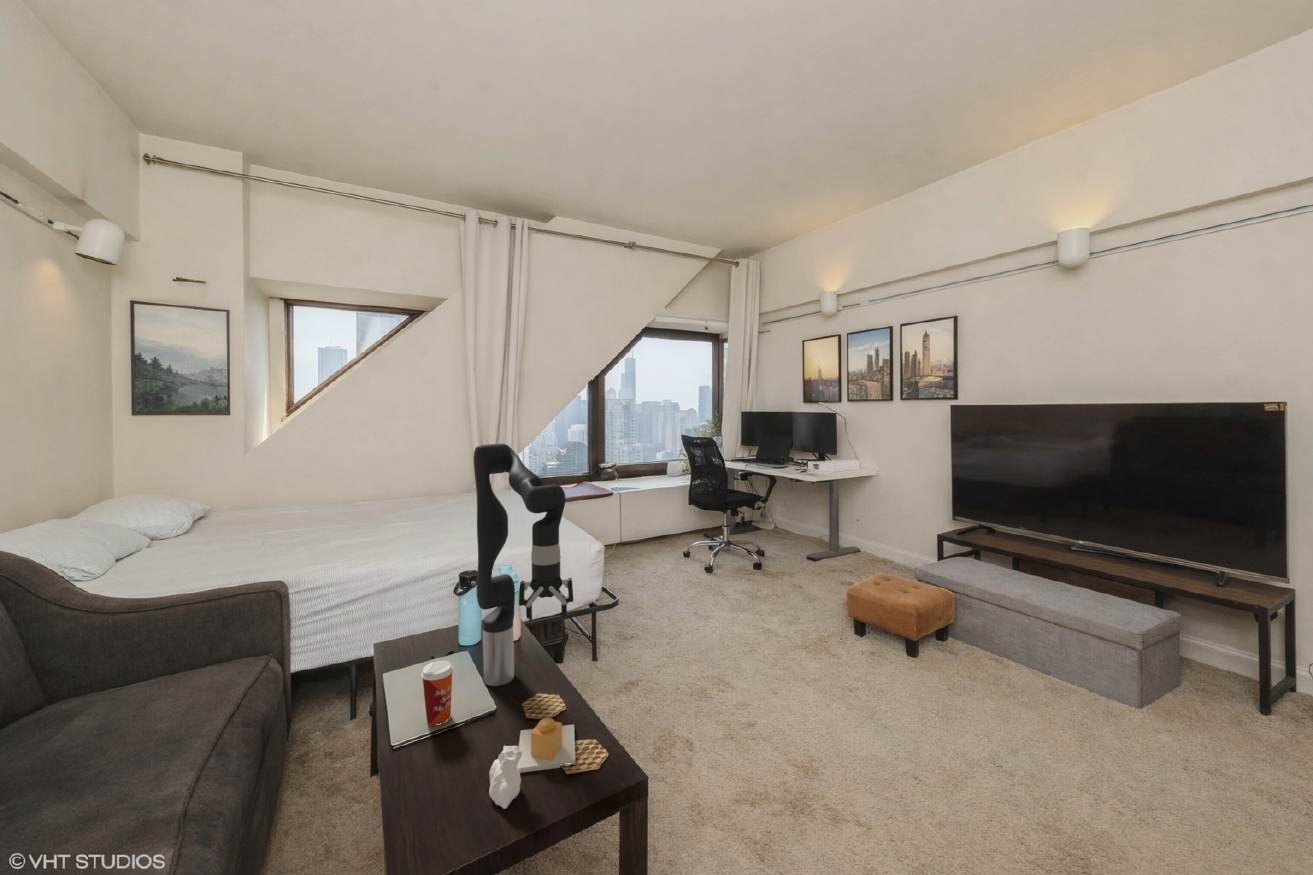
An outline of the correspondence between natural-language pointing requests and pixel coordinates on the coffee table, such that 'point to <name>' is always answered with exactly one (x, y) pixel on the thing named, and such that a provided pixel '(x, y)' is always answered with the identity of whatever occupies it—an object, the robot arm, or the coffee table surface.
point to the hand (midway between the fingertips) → (546, 618)
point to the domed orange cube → (546, 739)
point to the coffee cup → (437, 691)
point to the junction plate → (535, 763)
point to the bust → (505, 776)
